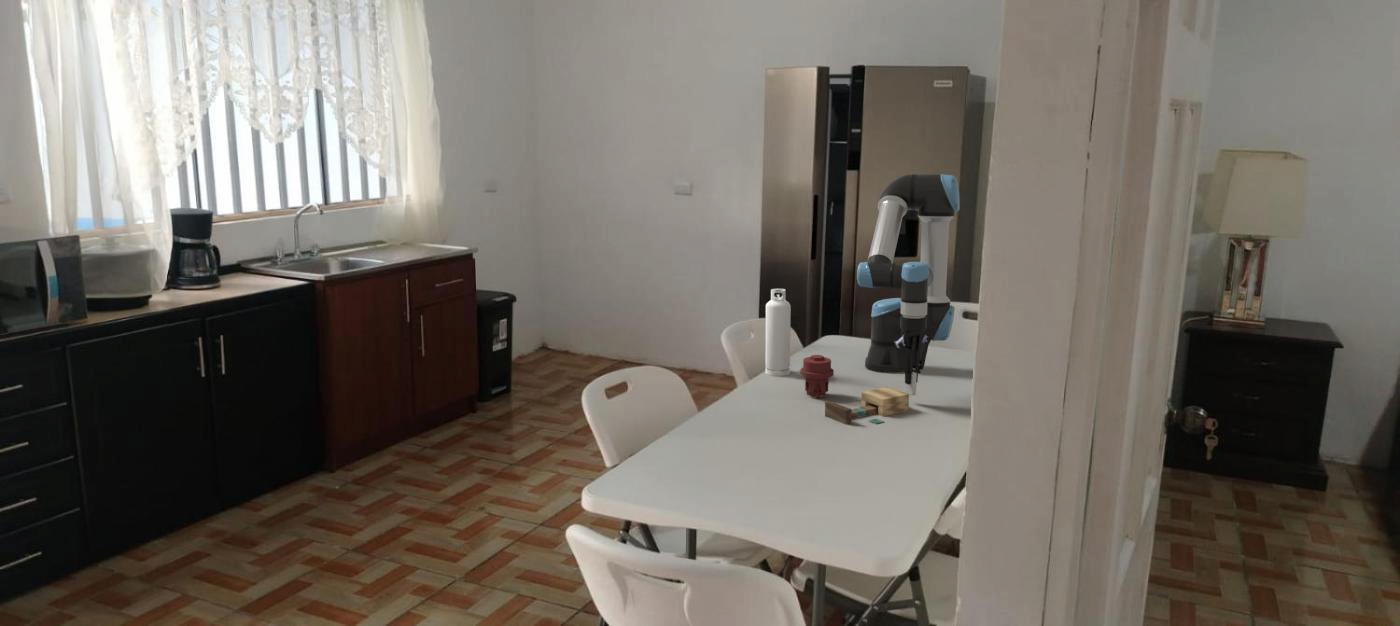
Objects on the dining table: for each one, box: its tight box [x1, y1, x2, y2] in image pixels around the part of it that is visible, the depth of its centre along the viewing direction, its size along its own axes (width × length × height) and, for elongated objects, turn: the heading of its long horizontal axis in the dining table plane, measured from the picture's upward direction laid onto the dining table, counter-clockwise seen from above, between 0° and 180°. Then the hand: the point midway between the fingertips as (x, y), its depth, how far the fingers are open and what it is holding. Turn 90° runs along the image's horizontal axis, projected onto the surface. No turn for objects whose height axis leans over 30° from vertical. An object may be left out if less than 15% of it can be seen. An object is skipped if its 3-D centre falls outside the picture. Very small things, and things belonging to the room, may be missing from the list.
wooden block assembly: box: [824, 401, 885, 425], centre depth 278 cm, size 24×18×4 cm
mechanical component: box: [799, 354, 834, 399], centre depth 295 cm, size 12×10×10 cm
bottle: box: [764, 288, 791, 377], centre depth 319 cm, size 8×8×28 cm
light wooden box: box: [860, 386, 910, 417], centre depth 281 cm, size 10×9×5 cm
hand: (910, 394), depth 286 cm, fingers closed
